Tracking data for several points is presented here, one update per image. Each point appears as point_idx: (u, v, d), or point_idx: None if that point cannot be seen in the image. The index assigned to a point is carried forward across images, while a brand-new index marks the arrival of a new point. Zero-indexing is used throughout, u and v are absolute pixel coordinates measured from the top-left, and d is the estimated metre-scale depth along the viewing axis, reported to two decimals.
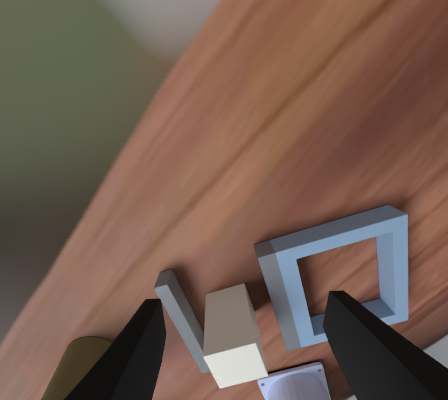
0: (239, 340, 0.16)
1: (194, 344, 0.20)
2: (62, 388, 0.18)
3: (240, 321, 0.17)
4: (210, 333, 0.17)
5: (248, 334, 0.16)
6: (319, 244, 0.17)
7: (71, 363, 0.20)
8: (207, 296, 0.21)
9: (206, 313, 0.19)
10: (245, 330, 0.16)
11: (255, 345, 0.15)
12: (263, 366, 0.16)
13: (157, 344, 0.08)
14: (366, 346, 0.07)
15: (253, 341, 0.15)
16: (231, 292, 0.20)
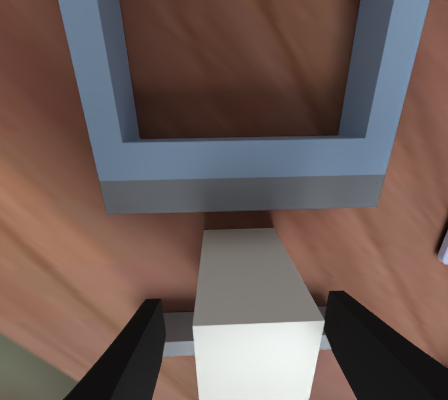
0: None
1: None
2: None
3: None
4: None
5: None
6: (89, 81, 0.07)
7: None
8: None
9: None
10: None
11: (202, 326, 0.06)
12: (283, 324, 0.06)
13: (157, 344, 0.08)
14: (366, 346, 0.07)
15: (193, 325, 0.06)
16: None
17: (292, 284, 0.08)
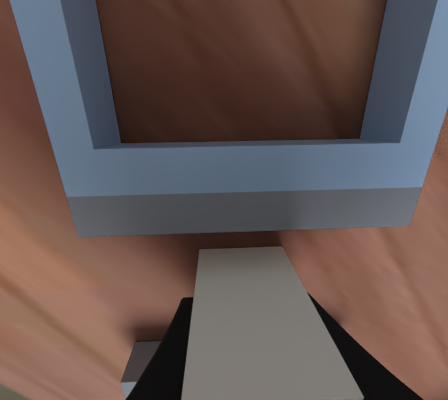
0: None
1: None
2: None
3: None
4: None
5: None
6: (46, 69, 0.06)
7: None
8: None
9: None
10: None
11: None
12: None
13: None
14: None
15: None
16: None
17: (312, 332, 0.06)
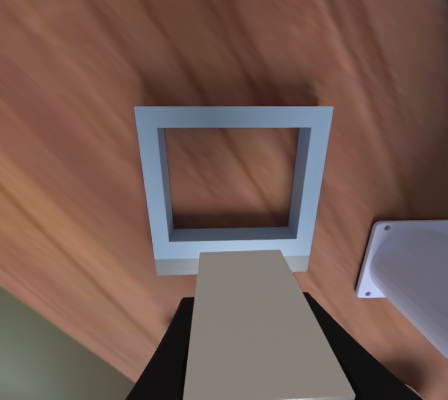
0: None
1: None
2: None
3: None
4: None
5: None
6: (155, 216, 0.15)
7: None
8: None
9: None
10: None
11: None
12: None
13: None
14: None
15: None
16: None
17: (308, 333, 0.06)
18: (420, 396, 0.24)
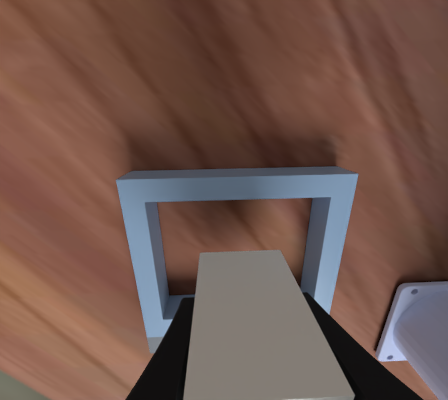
0: None
1: None
2: None
3: None
4: None
5: None
6: (145, 294, 0.13)
7: None
8: None
9: None
10: None
11: None
12: None
13: None
14: None
15: None
16: None
17: (307, 333, 0.06)
18: None
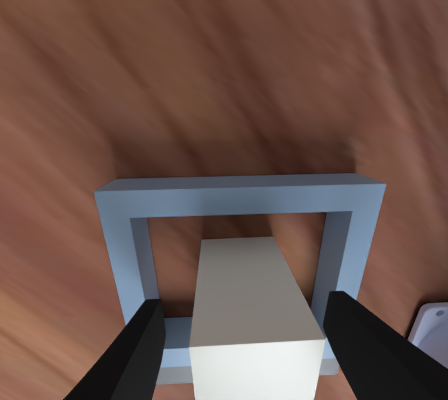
0: None
1: None
2: None
3: None
4: None
5: None
6: None
7: None
8: None
9: None
10: None
11: (199, 347, 0.06)
12: (283, 343, 0.06)
13: (157, 344, 0.08)
14: (366, 346, 0.07)
15: (190, 345, 0.06)
16: None
17: (292, 298, 0.08)
18: None
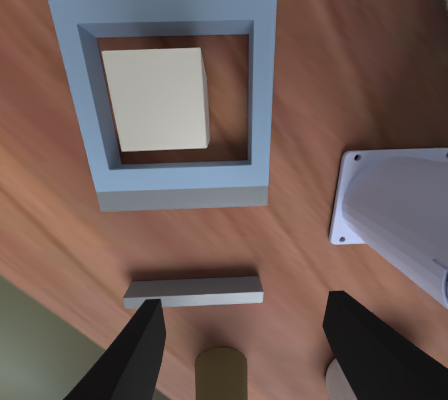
0: None
1: (212, 297, 0.18)
2: None
3: None
4: None
5: None
6: (89, 137, 0.13)
7: (196, 388, 0.22)
8: None
9: None
10: None
11: (109, 53, 0.09)
12: (169, 51, 0.09)
13: (157, 344, 0.08)
14: (366, 346, 0.07)
15: (103, 55, 0.09)
16: None
17: None
18: None
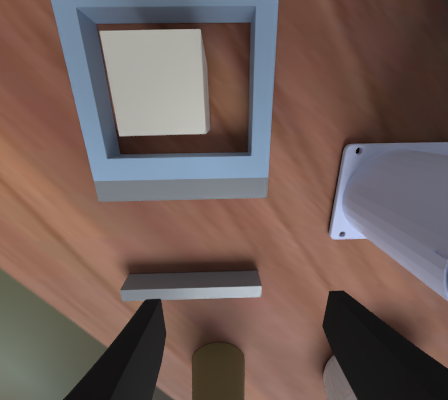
0: None
1: (210, 291, 0.18)
2: None
3: None
4: None
5: None
6: (87, 125, 0.13)
7: (192, 383, 0.22)
8: None
9: None
10: None
11: (107, 33, 0.08)
12: (169, 32, 0.08)
13: (157, 344, 0.08)
14: (366, 346, 0.07)
15: (101, 35, 0.09)
16: None
17: None
18: None
